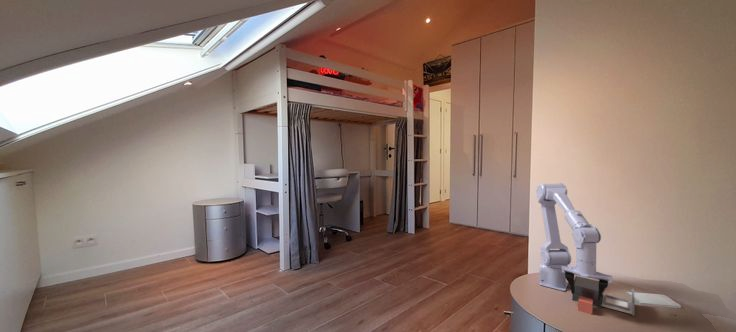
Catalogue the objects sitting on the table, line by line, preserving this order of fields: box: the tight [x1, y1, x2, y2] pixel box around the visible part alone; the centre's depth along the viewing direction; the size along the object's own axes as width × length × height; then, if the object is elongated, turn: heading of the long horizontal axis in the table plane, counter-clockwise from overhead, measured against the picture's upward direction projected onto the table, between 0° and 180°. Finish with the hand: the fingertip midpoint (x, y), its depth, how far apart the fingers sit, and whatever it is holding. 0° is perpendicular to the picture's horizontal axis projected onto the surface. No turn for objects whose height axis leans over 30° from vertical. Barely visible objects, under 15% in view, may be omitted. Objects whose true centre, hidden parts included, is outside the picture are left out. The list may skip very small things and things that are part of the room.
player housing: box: [571, 275, 604, 308], centre depth 111 cm, size 9×9×6 cm
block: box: [577, 296, 594, 316], centre depth 103 cm, size 4×4×4 cm
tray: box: [601, 288, 636, 316], centre depth 105 cm, size 9×9×6 cm
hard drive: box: [625, 291, 682, 309], centre depth 108 cm, size 2×8×12 cm
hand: (585, 296), depth 103 cm, fingers open, 7 cm apart
